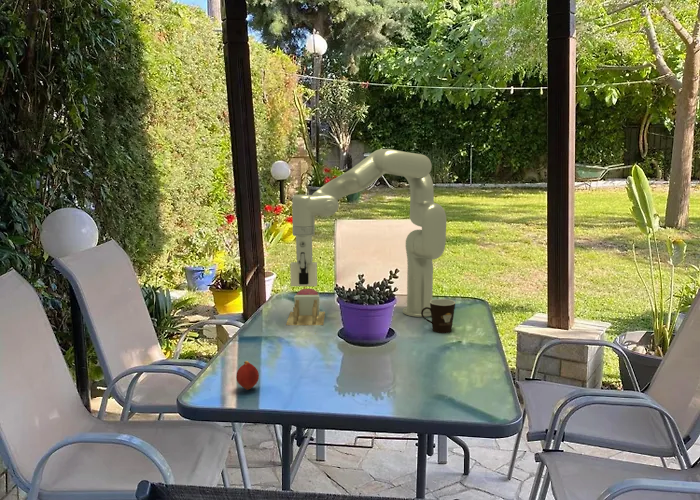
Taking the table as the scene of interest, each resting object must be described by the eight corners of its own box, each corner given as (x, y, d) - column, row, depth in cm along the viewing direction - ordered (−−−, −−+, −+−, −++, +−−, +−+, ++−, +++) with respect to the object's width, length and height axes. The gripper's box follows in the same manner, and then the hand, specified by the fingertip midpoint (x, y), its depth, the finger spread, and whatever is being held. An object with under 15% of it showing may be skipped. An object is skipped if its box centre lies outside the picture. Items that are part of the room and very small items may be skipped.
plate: (319, 313, 236) (319, 294, 235) (319, 315, 234) (319, 296, 233) (295, 313, 237) (294, 295, 235) (294, 315, 234) (294, 296, 233)
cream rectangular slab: (317, 284, 224) (316, 262, 223) (316, 286, 222) (316, 263, 220) (291, 284, 224) (291, 262, 223) (290, 286, 222) (290, 263, 220)
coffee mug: (453, 327, 224) (454, 299, 222) (455, 334, 216) (456, 305, 214) (420, 326, 225) (420, 298, 224) (420, 333, 217) (421, 305, 215)
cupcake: (293, 308, 249) (293, 278, 247) (301, 302, 257) (300, 273, 255) (314, 309, 247) (313, 279, 245) (321, 304, 255) (321, 274, 253)
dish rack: (325, 315, 239) (325, 296, 238) (323, 329, 222) (323, 308, 221) (290, 315, 239) (290, 296, 238) (285, 329, 222) (285, 308, 221)
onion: (249, 383, 174) (248, 355, 172) (263, 388, 170) (262, 360, 169) (232, 390, 169) (231, 361, 168) (247, 395, 166) (246, 366, 164)
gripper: (313, 234, 212) (313, 288, 215) (315, 227, 228) (316, 278, 231) (290, 234, 212) (291, 288, 215) (294, 227, 228) (295, 278, 231)
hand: (304, 282), depth 223 cm, fingers closed on cream rectangular slab, 2 cm apart
